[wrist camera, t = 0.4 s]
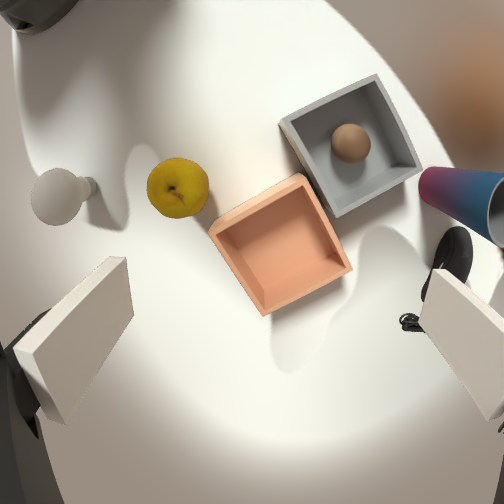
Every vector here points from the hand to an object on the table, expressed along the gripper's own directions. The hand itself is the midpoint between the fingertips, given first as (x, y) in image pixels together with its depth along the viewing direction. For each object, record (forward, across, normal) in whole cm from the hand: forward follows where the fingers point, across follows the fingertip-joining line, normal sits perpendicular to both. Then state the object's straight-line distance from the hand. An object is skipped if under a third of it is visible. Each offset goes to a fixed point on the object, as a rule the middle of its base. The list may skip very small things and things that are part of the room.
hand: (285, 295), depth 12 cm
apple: (+24, -9, +1) cm, 26 cm away
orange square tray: (+24, +2, -5) cm, 25 cm away
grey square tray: (+24, +8, +7) cm, 27 cm away
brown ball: (+24, +8, +7) cm, 26 cm away
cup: (+24, +22, +3) cm, 33 cm away
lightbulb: (+24, -22, +1) cm, 33 cm away
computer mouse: (+25, +28, -11) cm, 39 cm away
